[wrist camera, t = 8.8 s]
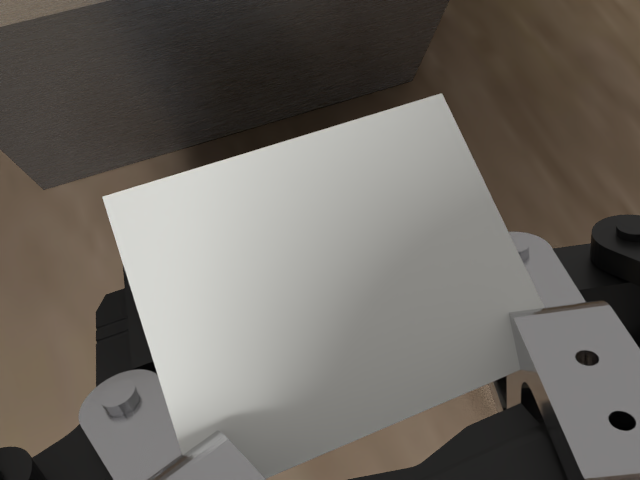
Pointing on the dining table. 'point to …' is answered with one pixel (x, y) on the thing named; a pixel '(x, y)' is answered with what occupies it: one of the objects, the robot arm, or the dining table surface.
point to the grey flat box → (186, 71)
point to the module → (323, 284)
